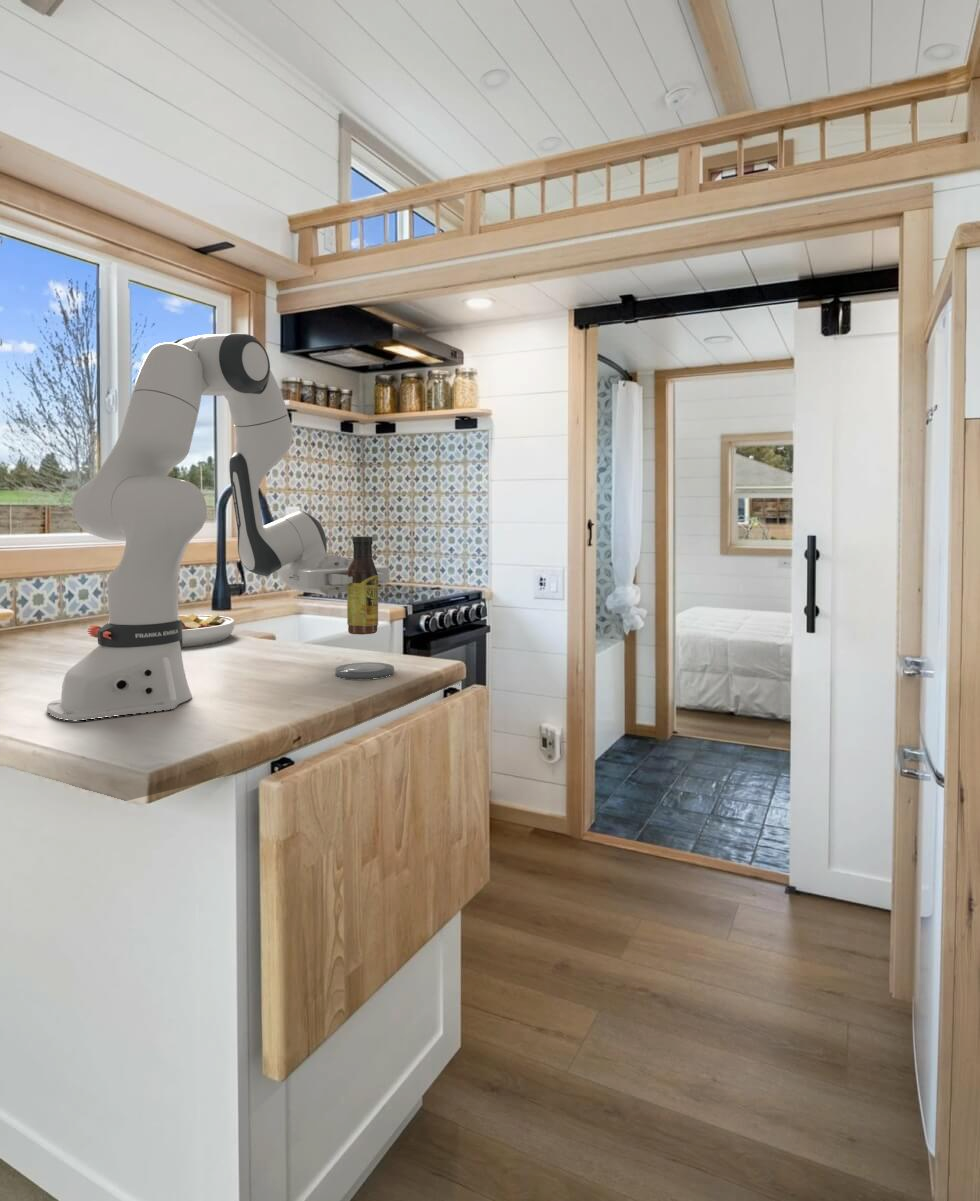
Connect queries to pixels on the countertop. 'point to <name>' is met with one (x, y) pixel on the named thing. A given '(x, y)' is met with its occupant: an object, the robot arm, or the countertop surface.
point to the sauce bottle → (362, 589)
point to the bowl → (205, 629)
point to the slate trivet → (364, 670)
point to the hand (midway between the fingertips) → (365, 579)
